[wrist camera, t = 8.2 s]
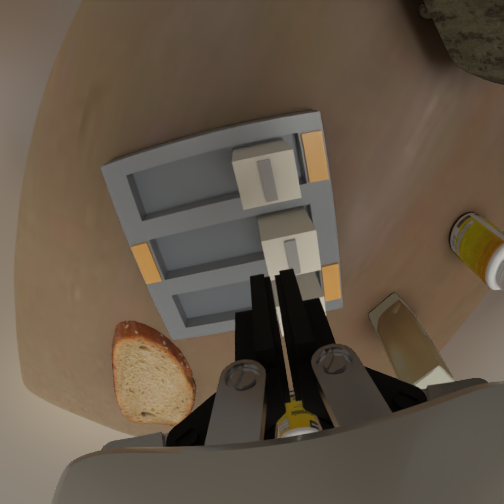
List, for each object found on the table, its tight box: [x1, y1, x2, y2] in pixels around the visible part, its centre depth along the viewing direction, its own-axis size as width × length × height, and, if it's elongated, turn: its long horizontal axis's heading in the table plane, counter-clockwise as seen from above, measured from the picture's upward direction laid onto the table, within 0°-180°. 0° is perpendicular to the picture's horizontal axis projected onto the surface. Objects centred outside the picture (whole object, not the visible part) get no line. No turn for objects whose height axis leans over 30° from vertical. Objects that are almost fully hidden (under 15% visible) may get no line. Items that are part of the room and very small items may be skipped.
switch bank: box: [101, 110, 343, 340], centre depth 28 cm, size 19×18×3 cm
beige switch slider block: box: [232, 138, 302, 210], centre depth 23 cm, size 3×4×6 cm
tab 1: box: [257, 206, 321, 281], centre depth 26 cm, size 3×4×6 cm
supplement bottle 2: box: [450, 213, 504, 291], centre depth 26 cm, size 6×6×10 cm
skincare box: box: [368, 293, 455, 389], centre depth 30 cm, size 6×4×12 cm
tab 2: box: [271, 272, 326, 337], centre depth 28 cm, size 3×4×6 cm
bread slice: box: [112, 321, 196, 426], centre depth 38 cm, size 18×18×4 cm
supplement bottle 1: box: [278, 392, 320, 438], centre depth 38 cm, size 5×5×10 cm
